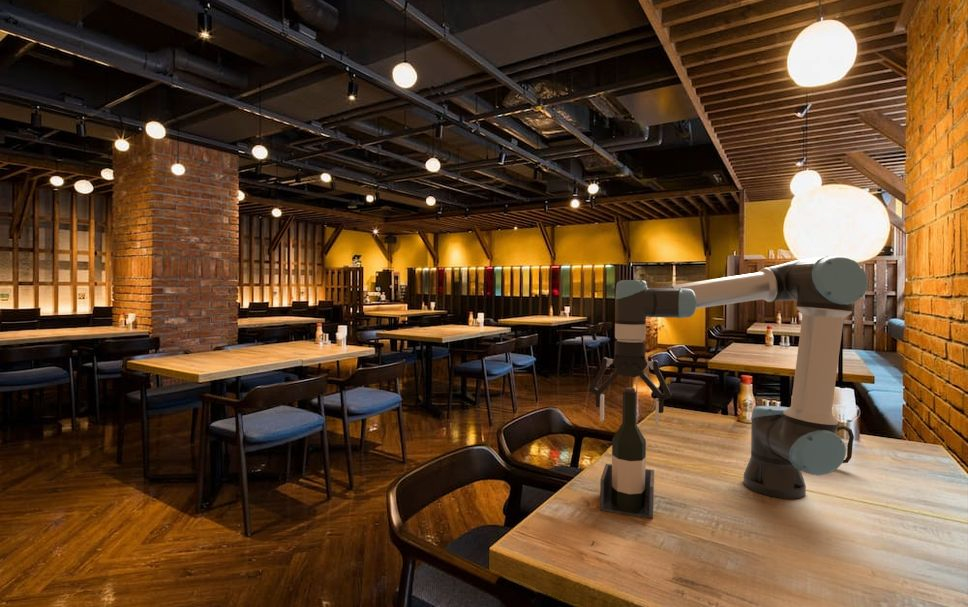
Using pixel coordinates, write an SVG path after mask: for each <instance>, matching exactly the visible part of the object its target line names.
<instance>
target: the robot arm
mask: <svg viewBox="0 0 968 607" xmlns="http://www.w3.org/2000/svg"><path fill="white" fill-rule="evenodd" d="M615 286H616V288H615V297H614V299H615V323H614V338H615V339H616V340H615V341H614V358H608V357H607V356H604V357H603V358H602V359H601V366H600V368H599V370H598V372H597V374H596V376H595V377H594V379H593V380H592V383H591V385H590V386H589V388H588V392H589V393H591V394H594V395H595V407H596V408H599V421H600V422H604V420H605V393H604V391H606V389H607V388H608V387H609V386H610V385H611V384H612V383H613V382H614V380H615V379H616V378H618V377H619V375H620V376H621V377H624V378H627V377H631V378H636V377H639V378H640V379H641V380H642V381H643V382H644V383H645V385H647V387H648V388H649V390H651V392H652V393H653V394H654V395H655V396H656V398H655V416H654V417H655V418H654V419H655V420H654V421H655V424H654V426H655V427H656V428H657V427H659V421H660V418H659V417H660V416H659V414H663V413H664V411H665V410H664V408H665V406H664V405H665V404H664V403H665V400H668V399H669V400H670V399H672V395H673V394H672V392H671V391H670V388H669V386H668V384H667V382H666V380H665V379H664V376H663V374H662V373H661V371H660V368H659V361H658V360H657V359H654V360H647V359H646V342H645V341H644V340H646V337H647V336H646V335H647V331H646V330H647V318H678V319H683V318H691V317H692V316H694V315H695V313H696V310H697V309H704V308H711V307H717V306H725V305H731V304H738V303H745V302H751V301H752V302H753V301H759V300H760V301H761V300H764V301H766V302H767V303H772V302H777V301H780V302H782V301H783V302H784V301H786V302H787V301H790V302H796V306H795V309H796V310H797V311H798V312H799V313H800V314H801V323H800V330H799V338H798V340H799V341H798V348H797V355H796V356H797V357H796V362H795V363H796V364H795V370H794V371H795V372H794V378H793V379H794V380H793V387H792V393H791V402H790V406H789V407H787V406H778V405H777V406H775V405H758V406H755V407H753V409H752V410H751V418H750V420H751V428H750V429H751V430H750V431H751V432H750V433H751V438H750V439H751V441H750V442H751V443H750V458H749V461H748V462H747V463H748V464H747V466H746V468H745V470H744V472H743V479H742V480H743V484H744V486H745V487H746V488H748V489H750V490H752V491H754V492H756V493H758V494H762V495H765V496H769V497H772V498H780V499H790V500H791V499H800V498H803V497H805V496H806V492H807V489H806V488H807V486H806V482H805V478H804V476H803V473H802V472H804V473H806V474H809V475H814V476H824V475H829V474H831V473H832V472H833V471H835V470H838V469H839V467H840V466H842V464H844V463H843V461H844V460H845V459H846V456H847V448H846V447H847V446H846V444H845V443H844V441H843V440H842V438H841V437H840V436H839V435H838V434H837V432H838V431H837V427H838V426H839V425H838V424H839V422H838V420H837V419H836V418H835V417H834V416H833V414H832V413H833V412H832V411H833V407H834V406H833V404H834V397H835V389H836V380H837V374H838V365H839V358H840V357H839V356H840V351H841V350H840V349H841V342H842V337H843V336H842V334H843V327H844V320H845V319H846V317H848V316H850V315H851V314H852V313H853V310H854V309H853V308H854V303H856V302H858V301H860V300H861V299H860V298H863V296H865V294H866V292H867V289H868V276H867V272H866V271H865V269H864V268H863V267H862V266H861V265H860V263H858V261H856V260H854V259H853V258H850V257H848V256H843V255H842V256H839V255H826V256H825V255H824V256H820V257H811V258H802V259H797V260H792V261H789V262H785V263H781V264H778V265H773V266H769V267H763V268H761V269H759V271H758V272H753V273H746V274H740V275H739V274H738V275H733V276H725V277H720V278H712V279H704V280H699V281H691V282H686V283H685V282H684V283H677V284H673V285H671V284H670V285H666V286H665V285H664V286H658V287H648V284H647V281H646V280H643V279H642V280H641V279H640V280H638V279H636V280H635V279H634V280H633V279H630V280H629V279H626V280H624V279H623V280H619V281H617V283H616V285H615ZM611 365H613V367H614V368H615V371H614V372H613V373H612V374H611V375H610V376H609V377H608V378H607V379H606V380H605V381H604V382H603V383H602V384H601V385H600V386H599V387H598V388H597V386H598V384H599V383H600V380H601V379H602V376H603V375H604V373H605V371H606V369H607V368H608V367H610V366H611ZM647 366H648V367H649V368H650V370H653V373H654V375H655V377H656V379H657V381H658V382H659V385H660V386H661V388H662V391H663V392H664V393H662V391H661V390H660V388H658V387H657V385H656V384H655V383H654V382H653V380H651V379H650V377H649V376H648V375H647V373H646V372H645V371H644V370H645V369H646V368H647Z"/></svg>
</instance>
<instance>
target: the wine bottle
mask: <svg viewBox="0 0 968 607" xmlns="http://www.w3.org/2000/svg"><path fill="white" fill-rule="evenodd" d="M637 394H638V392H637V391H636V389H635V387H630V386H629V387H624V389H623V390H622V421H621V422H622V423H621V425H620V426H619V428H618V430H617V431H616V433H614V435H613V436H612V438H611V440H612V441H611V442H612V443H611V446H612V447H611V448H612V450H611V464H612V494H611V502H612V503H613V504H614V505H615V506H616V507H617V508H621V509H625V510H629V511H632V510H641V509H642V508H643V507H644V505H645V469H646V460H647V459H646V456H647V453H646V452H647V451H646V450H647V448H646V446H647V440H646V439H645V437H644V435H643V433H642V432H641V430H640V427H639V426H638V425H637Z"/></svg>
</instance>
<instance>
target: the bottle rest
mask: <svg viewBox="0 0 968 607" xmlns="http://www.w3.org/2000/svg"><path fill="white" fill-rule="evenodd" d="M599 484H600V486H599V487H600V488H599V489H600V492H599V493H600V494H599V496H600V497H599V500H600V501H599V511H601V512H608V513H612V514H619V515H624V516H625V515H626V516H631V517H636V518H643V519H648V520H649V519H650V520H654V506H655V505H654V504H655V497H654V496H655V469H650V468H649V469H647V468H645V505H644V507H643V508H642V509H641V510H632V511H629V510H625V509H621V508H617V507H616V506H615V505H614V504H613V503H612V502H611V494H612V463H605V465H604V468H603V471H602V475H601V477H600V483H599Z"/></svg>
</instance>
